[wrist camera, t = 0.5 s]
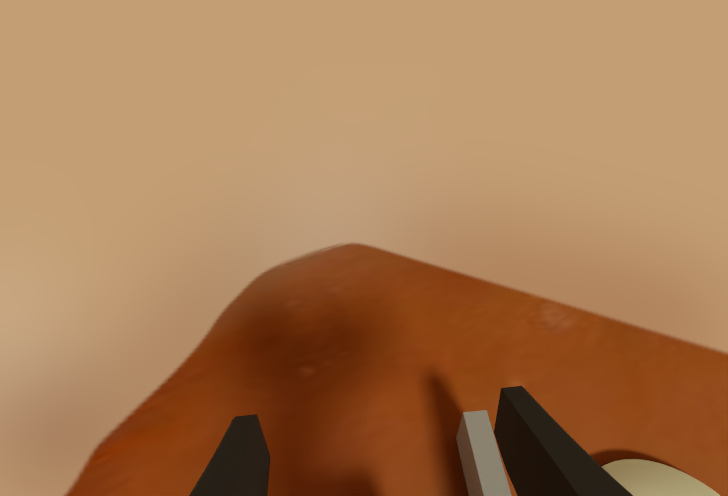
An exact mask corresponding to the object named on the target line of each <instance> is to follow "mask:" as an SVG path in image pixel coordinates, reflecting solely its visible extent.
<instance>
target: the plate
mask: <svg viewBox="0 0 728 496" xmlns="http://www.w3.org/2000/svg"><path fill="white" fill-rule="evenodd" d="M602 468H603V469H604V470H606V471H607V472H608V473H609V474H610V475H611V476H612V477H613V478H614V479H615V480H616V481H618V482H619V483H620V484H621V485H622V486H623V487H624V488H625V489H626V490H627V491H629V492H630V493H631V494H632V495H633V496H720V495H719V494H718V493H716V492H715V491H714V490H712V489H711V488H709V487H708V486H706V485H705V484H703V483H702V482H700V481H698V480H697V479H695V478H693V477H691V476H690V475H688V474H686V473H684V472H681V471H679V470H677V469H675V468H672V467H670V466H667V465H664V464H661V463H657V462H653V461H648V460H640V459H624V460H618V461H614V462H611V463H608V464H605V465H604V466H602Z"/></svg>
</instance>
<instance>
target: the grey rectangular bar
mask: <svg viewBox="0 0 728 496" xmlns="http://www.w3.org/2000/svg"><path fill="white" fill-rule="evenodd" d="M456 441H457V445H458V450H459V454H460V459H461V463H462V468H463V472H464V477H465V481H466V486H467V490H468V495H469V496H511V492H510V489H509V485H508V482H507V479H506V475H505V472H504V468H503V465H502V462H501V458H500V455H499V451H498V448H497V445H496V441H495V438H494V434H493V431H492V427H491V424H490V421H489V417H488V414H487V410H484V411H473V412H463V415H462V418H461V422H460V425H459V429H458V433H457V436H456Z"/></svg>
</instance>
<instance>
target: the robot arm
mask: <svg viewBox="0 0 728 496" xmlns="http://www.w3.org/2000/svg"><path fill="white" fill-rule="evenodd" d="M494 434H495V437H496V440H497V443H498V446H499V449H500V452H501V455H502V458H503V461H504V464H505V467H506V470H507V472H508V475H509V477H510V479H511V481H512V484H513V486H514V488H515V490H516V493H517V495H518V496H633V495H632V494H631V493H630V492H629V491H627V490H626V489H625V488H624V487H623V486H622V485H621V484H620V483H619V482H618V481H616V480H615V479H614V478H613V477H612V476H611V475H610V474H609V473H608V472H607V471H606V470H604V469H603V468H602V467H601V466H600V465H599V464H598V463H597V462H596V461H595V460H594V459H593V458H592V457H591V456H590V455H589V454H588V453H587V452H586V451H585V450H584V449H583V448H582V447H581V446H580V445H579V444H577V443H576V442H575V441H574V440H573V439H572V438H571V437H570V436H569V435H568V434H567V433H566V432H565V431H564V429H563V428H562V427H561V426H560V425H559V424H558V423H557V422H556V421H555V420H554V419H553V418H552V417H551V416H550V415H549V414H548V413H547V412H546V411H545V410H544V409H543V408H542V407H541V405H540V404H539V403H538V402H537V401H536V400H535V399H534V398H533V397H532V396H531V395H530V394H529V393H528V392H527V391H526V389H525V388H523V387H522V386H517V387H508V388H501V393H500V399H499V405H498V411H497V417H496V423H495V429H494ZM269 467H270V455H269V451H268V448H267V445H266V442H265V439H264V436H263V432H262V429H261V426H260V423H259V420H258V417H257V415H247V416H238V417H235V418H234V419H233V420H232V422H231V424H230V426H229V428H228V430H227V432H226V433H225V435H224V437H223V439H222V441H221V443H220V444H219V446H218V448H217V450H216V452H215V453H214V455H213V457H212V459H211V460H210V462H209V464H208V466H207V467H206V469H205V471H204V472H203V474H202V476H201V477H200V479H199V481H198V482H197V484H196V486H195V487H194V489H193V491H192V492H191V494H190V495H189V496H267V489H268V479H269Z"/></svg>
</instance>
